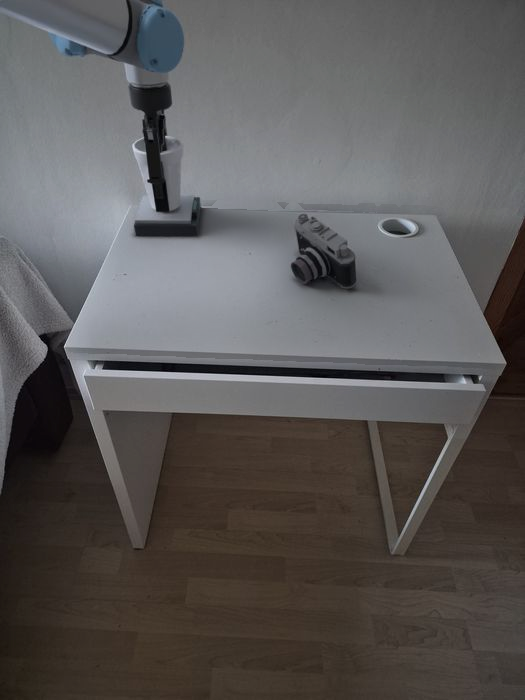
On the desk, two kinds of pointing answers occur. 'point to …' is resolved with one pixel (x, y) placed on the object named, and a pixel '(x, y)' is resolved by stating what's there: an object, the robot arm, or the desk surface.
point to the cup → (170, 166)
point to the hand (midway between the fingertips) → (165, 200)
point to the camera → (322, 254)
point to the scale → (168, 218)
